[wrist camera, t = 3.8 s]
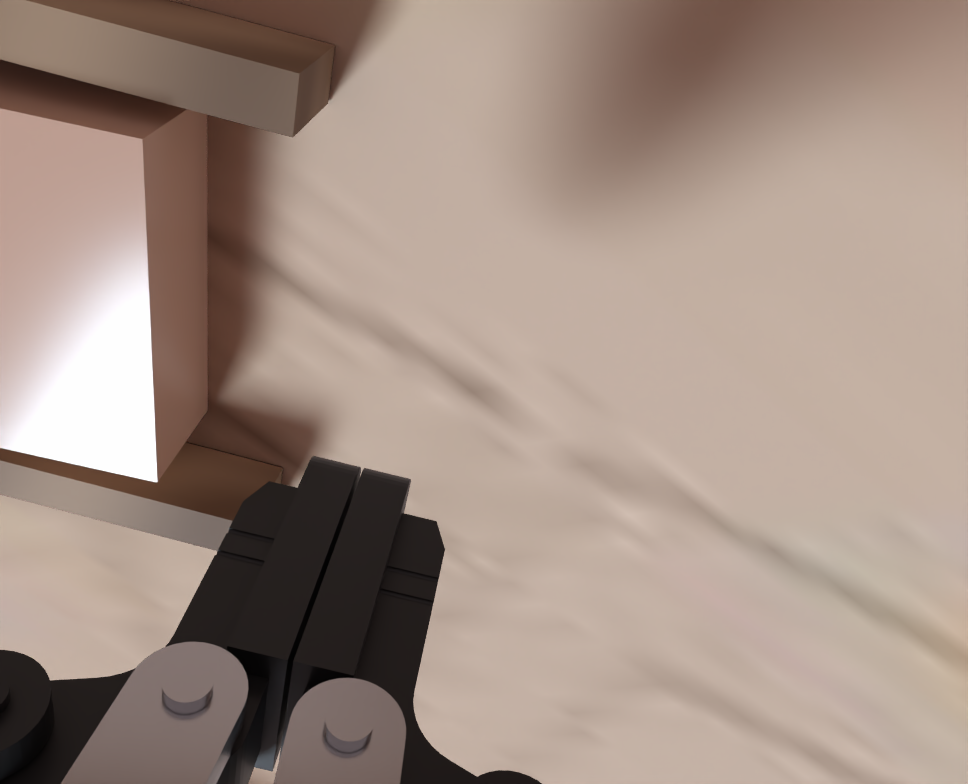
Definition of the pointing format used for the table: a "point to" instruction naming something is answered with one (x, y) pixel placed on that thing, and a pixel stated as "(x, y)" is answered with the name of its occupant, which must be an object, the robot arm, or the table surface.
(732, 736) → the table surface
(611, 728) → the table surface
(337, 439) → the table surface
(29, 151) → the pink flat slab
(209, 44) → the wooden crate
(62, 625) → the table surface
